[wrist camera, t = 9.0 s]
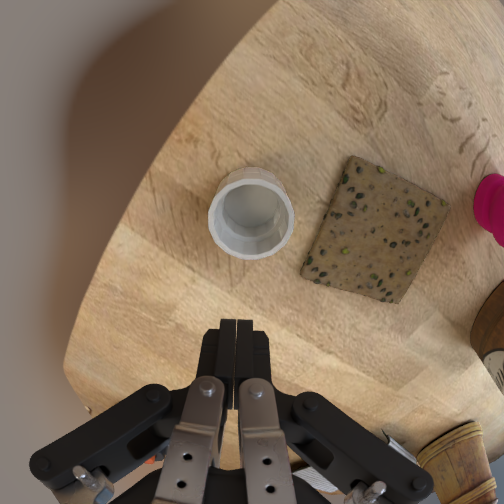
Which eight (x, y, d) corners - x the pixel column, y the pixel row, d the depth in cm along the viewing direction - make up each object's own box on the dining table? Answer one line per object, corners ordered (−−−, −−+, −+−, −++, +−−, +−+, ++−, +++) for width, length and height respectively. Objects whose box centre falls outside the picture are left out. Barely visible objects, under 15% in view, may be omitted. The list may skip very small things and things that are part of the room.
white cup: (216, 232, 26) (209, 259, 21) (215, 165, 23) (207, 178, 19) (283, 233, 26) (290, 260, 21) (288, 167, 23) (297, 180, 19)
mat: (272, 467, 47) (274, 487, 43) (384, 422, 41) (391, 443, 37) (326, 486, 55) (328, 501, 51) (413, 450, 49) (419, 465, 45)
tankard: (484, 409, 45) (521, 488, 22) (467, 444, 54) (491, 507, 32) (418, 443, 48) (446, 533, 25) (413, 470, 57) (432, 538, 35)
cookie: (397, 303, 29) (400, 309, 29) (297, 275, 28) (298, 280, 27) (450, 204, 24) (455, 207, 24) (350, 152, 23) (353, 154, 22)
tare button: (141, 454, 40) (139, 462, 39) (136, 447, 39) (134, 455, 37) (157, 457, 40) (155, 465, 39) (153, 450, 39) (151, 458, 37)
